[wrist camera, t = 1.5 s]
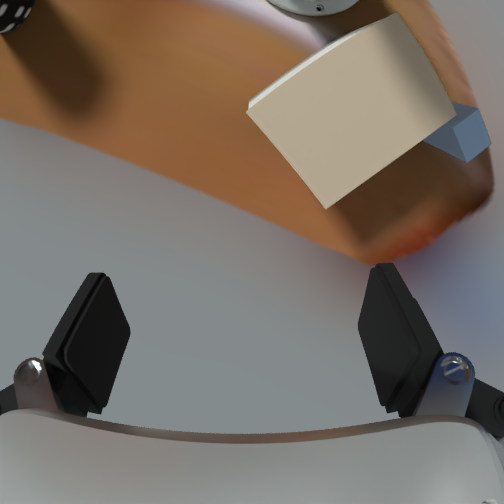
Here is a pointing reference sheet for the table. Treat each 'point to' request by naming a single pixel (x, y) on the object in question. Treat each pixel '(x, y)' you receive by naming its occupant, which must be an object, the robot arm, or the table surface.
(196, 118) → the table surface
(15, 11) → the spotted tube
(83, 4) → the table surface
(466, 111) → the light blue block
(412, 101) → the cabinet
